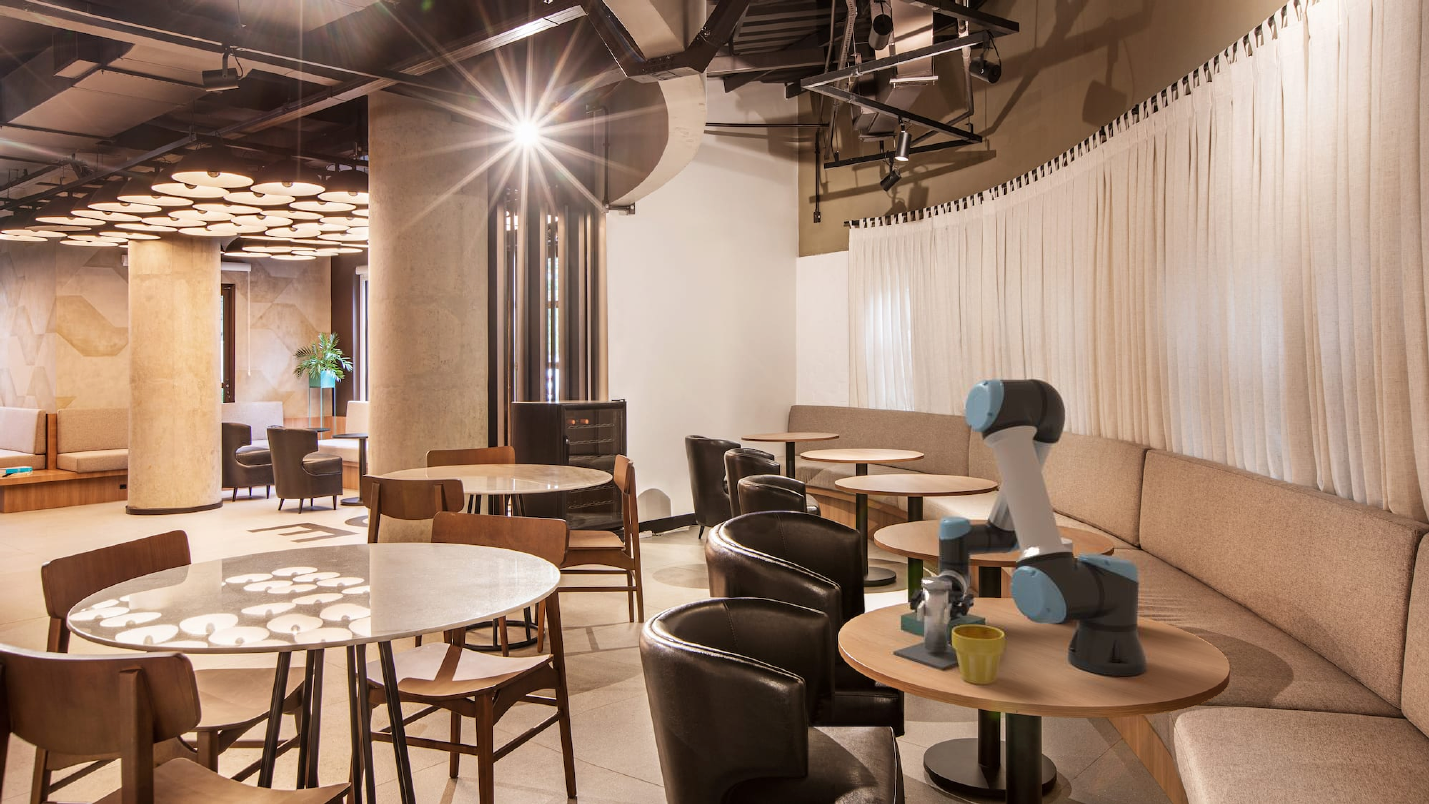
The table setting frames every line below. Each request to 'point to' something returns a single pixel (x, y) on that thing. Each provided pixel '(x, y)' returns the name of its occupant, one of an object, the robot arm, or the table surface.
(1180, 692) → the table surface
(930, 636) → the plug
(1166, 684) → the table surface
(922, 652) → the mat
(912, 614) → the housing
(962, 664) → the plant pot
